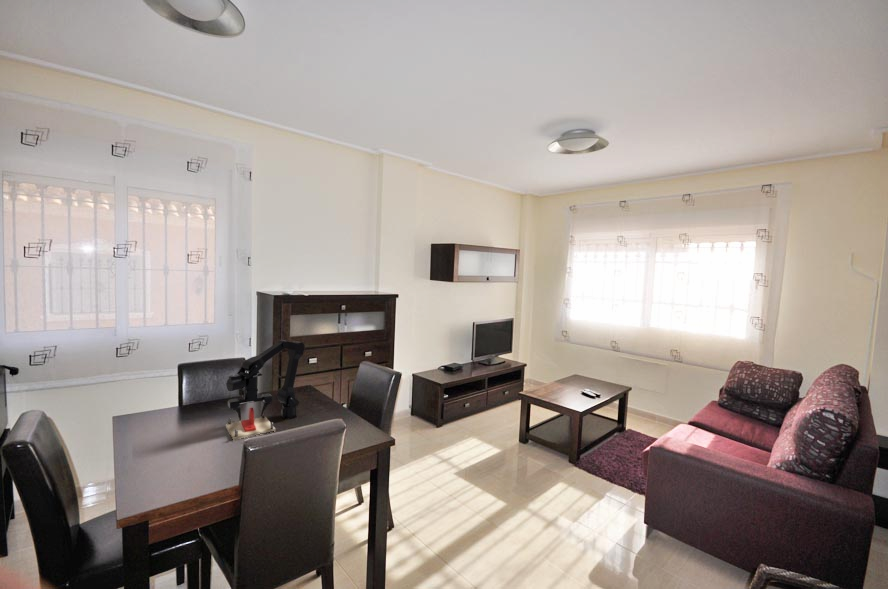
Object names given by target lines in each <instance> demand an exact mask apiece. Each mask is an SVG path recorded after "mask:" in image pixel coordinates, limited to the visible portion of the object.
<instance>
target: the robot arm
mask: <svg viewBox="0 0 888 589" xmlns="http://www.w3.org/2000/svg"><path fill="white" fill-rule="evenodd" d="M285 349H287V354H288V362H287V367H286V371H285V372H286V373H285V376H284V377H285V378H284V381H283V382H284V383H283V385H282V387H281V388H278V389H277V394H276V397H277V401H278V402H280V405H282V406H281V407H282V408H281V409H280V411H281V412H280V416H281V417H282V418H283V419H284V420H289V419H288V418H290V419H294V418H293V417H295V418H298V415H297V407H298V406H299V405H300V401H299V400H298V399H297V398H296V390H295V386H294V385H295V382H296V376H297V373H298V372H297V371H298V366H299V363H300V359H301V358H302V356H303V355H304V354H305V349H306V345H305V344H304V342H300V341H297V340H292V341H288V340H284V339H278V341H277V342H276V343H274V344H273V345H271V346H269V347H268V348H267V349H266V350H264V351H262V352H261V353H259V354H257V355H254V356H251V357H249V358H246V359H245V360H244V361H243V362H242V366H241V367H240V369H239V370H238V371H237V373H236V375H229V376H228V378H227V380H226V382H225V383H226V384H225V385H226V390H228V392H233V391H237V396H238V397H241V398H242V399H238V398H231V399H228V401H227V406H228V408H229V409H230V410H233V411H235V412H236V415H237V417H238V421H242V412H241V407H240V405H244V404H245V405H246V404H250V403H257V402H260V412H259V414H260V417H262V415H263V413H264V414H265V410H266V409H267V407H268V405H270V404H271V403H272V402H274V396H273V395H272V394H270V393H264V394H263V393H262V394H261V396H260V397H259V396H258V391H259V385H258V384H259V383H258V380H259V378H258V377H260V376H261V377H262V376H263V373H262V372H260V370H261V369H262V368H264V365H265V364H266V363H267V362H268V361H269V360H271V359H273V358H274V357H275V356H276V355H278V354H280V353H281V352H282V351H284V350H285Z"/></svg>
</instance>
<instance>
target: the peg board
mask: <svg viewBox="0 0 888 589" xmlns="http://www.w3.org/2000/svg"><path fill="white" fill-rule="evenodd" d="M241 421H242V420H238V421H235V422H232V417H227V423H226V424H225V428H226V430H227V432H228V434H229V435H231V436H230V438H231V437H232V438H231V439H233V440H235V441H238V440H237V439H240V440H242V439H241V438H243V437H244V439H248V438H253V437H257V436H262V435H264V434H260V433H266V432H270V431H274V432H270V433H267V434H271V433H276V427H275V426H274V422H273V421H270V420H269V419H268V417H267V416H265V412H264V413H263V415H262V417H261V416H260V417H256V418H255V417H254V425H255V427H256V430H254V431H249V432H245V431H244V428H243V426H242V423H241ZM255 434H260V435H256V436H251V435H255ZM267 434H266V435H267ZM248 436H249V437H248ZM245 437H247V438H245ZM233 440H232V441H233Z"/></svg>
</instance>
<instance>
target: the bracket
mask: <svg viewBox="0 0 888 589" xmlns="http://www.w3.org/2000/svg"><path fill="white" fill-rule="evenodd" d="M254 419H255V411H254V407H253V406H252V407H249V408H248V418H247V419H241V420H240V421H241V423H242V426H243V428H244V431H245V432H249V431H254V430H256V427H255V425H254Z"/></svg>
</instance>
